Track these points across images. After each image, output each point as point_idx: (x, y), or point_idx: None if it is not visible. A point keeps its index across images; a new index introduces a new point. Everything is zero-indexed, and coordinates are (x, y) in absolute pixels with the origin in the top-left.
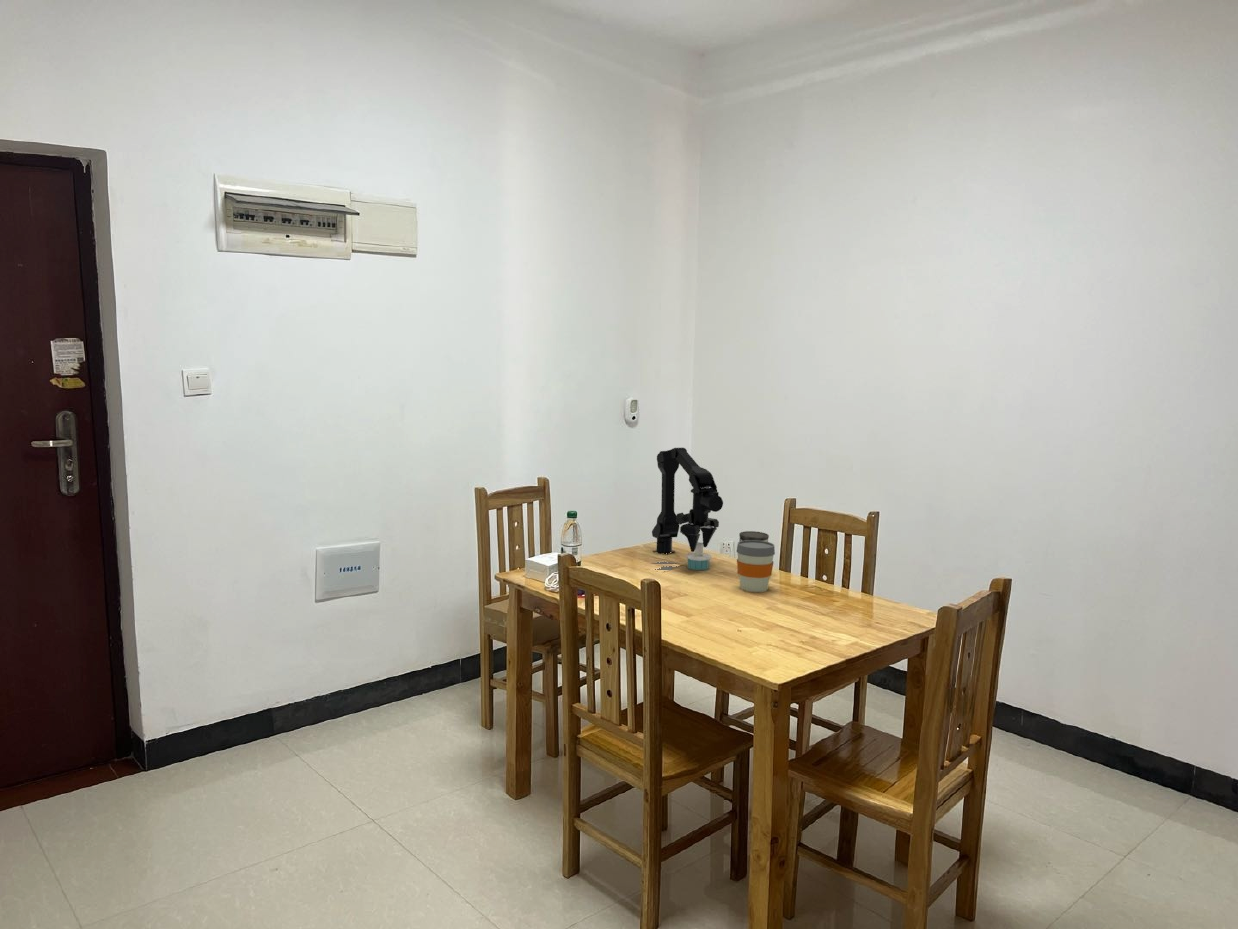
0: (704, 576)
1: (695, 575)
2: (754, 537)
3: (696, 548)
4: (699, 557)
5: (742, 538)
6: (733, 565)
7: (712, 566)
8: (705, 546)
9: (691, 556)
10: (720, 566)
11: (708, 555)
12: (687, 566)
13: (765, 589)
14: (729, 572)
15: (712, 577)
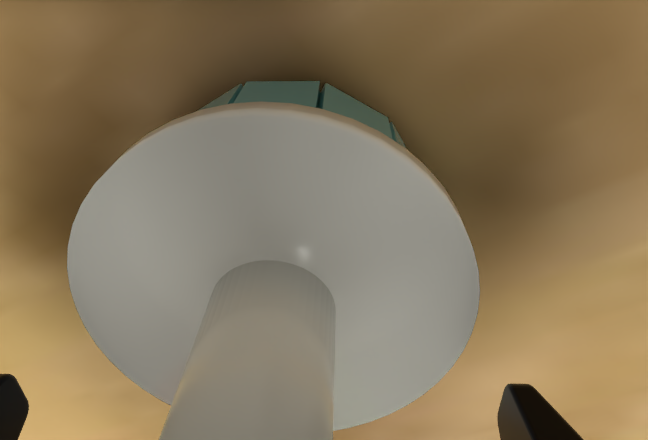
0: (96, 354)
1: (50, 293)
2: None
3: (172, 409)
4: (177, 360)
5: None
6: (629, 381)
7: (484, 269)
8: (500, 428)
9: (124, 264)
10: (528, 321)
11: (375, 392)
12: (213, 101)
13: None
14: (364, 429)
15: (128, 400)
